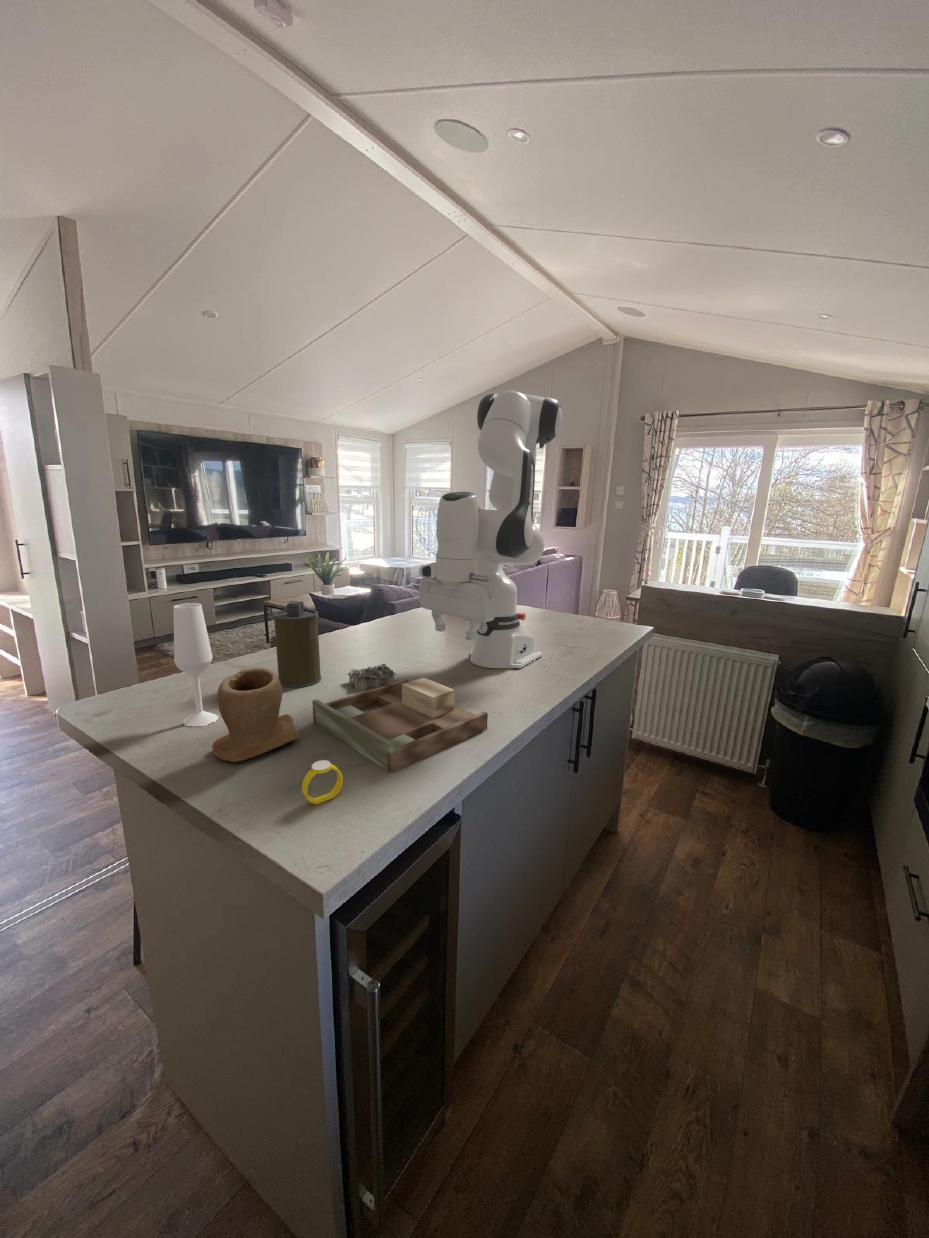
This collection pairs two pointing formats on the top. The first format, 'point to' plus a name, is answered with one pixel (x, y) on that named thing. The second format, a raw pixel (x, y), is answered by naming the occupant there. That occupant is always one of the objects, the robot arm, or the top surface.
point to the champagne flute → (192, 654)
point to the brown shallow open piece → (393, 726)
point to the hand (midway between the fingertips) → (455, 635)
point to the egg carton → (371, 677)
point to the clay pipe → (252, 715)
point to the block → (428, 697)
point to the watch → (321, 768)
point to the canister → (297, 645)
